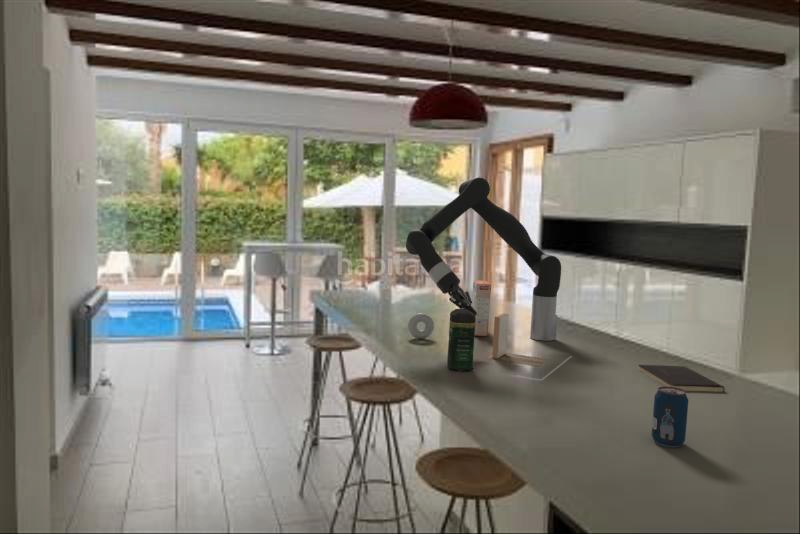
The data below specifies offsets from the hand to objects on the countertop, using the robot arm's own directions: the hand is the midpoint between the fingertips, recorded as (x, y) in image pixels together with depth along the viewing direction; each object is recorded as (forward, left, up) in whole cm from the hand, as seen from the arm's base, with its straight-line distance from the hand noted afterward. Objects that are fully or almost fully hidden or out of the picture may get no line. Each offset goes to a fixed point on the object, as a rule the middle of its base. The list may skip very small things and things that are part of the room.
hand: (474, 315), depth 220 cm
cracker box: (-22, -30, -13) cm, 40 cm away
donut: (+7, -26, -13) cm, 30 cm away
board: (-9, +13, -13) cm, 21 cm away
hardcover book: (-44, +49, -14) cm, 67 cm away
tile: (-6, +8, -13) cm, 16 cm away
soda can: (+4, +87, -13) cm, 88 cm away
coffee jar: (+15, +16, -13) cm, 26 cm away
